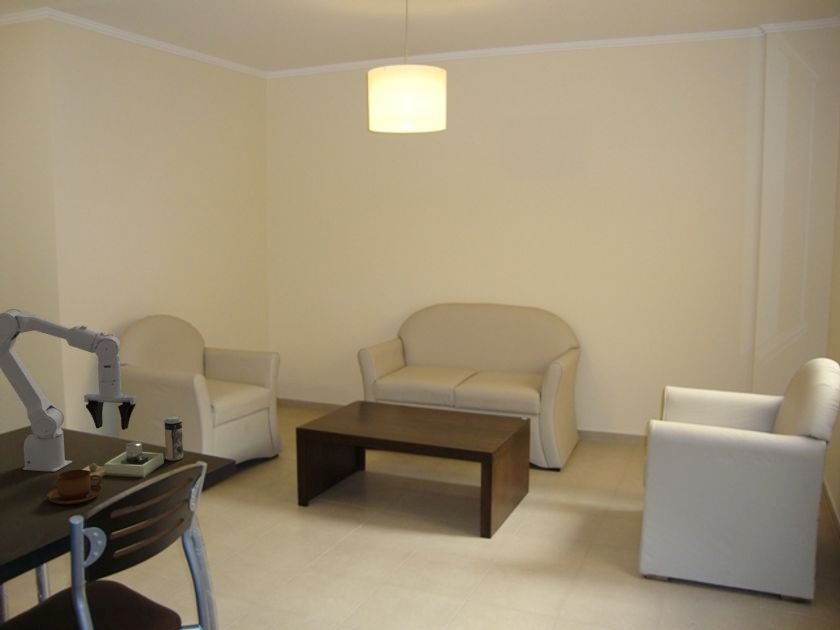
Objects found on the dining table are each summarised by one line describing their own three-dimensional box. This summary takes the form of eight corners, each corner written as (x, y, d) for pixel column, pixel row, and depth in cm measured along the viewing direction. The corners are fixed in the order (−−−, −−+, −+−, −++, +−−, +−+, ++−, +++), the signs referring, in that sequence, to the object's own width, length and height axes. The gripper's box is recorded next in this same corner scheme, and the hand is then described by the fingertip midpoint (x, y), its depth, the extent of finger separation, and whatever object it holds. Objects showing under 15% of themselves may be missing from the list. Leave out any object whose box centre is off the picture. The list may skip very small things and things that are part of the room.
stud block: (73, 477, 197) (73, 466, 197) (88, 468, 204) (88, 458, 204) (98, 478, 196) (97, 468, 196) (113, 469, 203) (112, 459, 203)
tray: (104, 474, 199) (104, 464, 199) (126, 461, 210) (126, 451, 210) (143, 477, 198) (143, 466, 197) (163, 463, 209) (163, 453, 208)
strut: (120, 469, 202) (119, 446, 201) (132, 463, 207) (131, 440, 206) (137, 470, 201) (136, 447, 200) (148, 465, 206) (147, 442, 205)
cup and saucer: (86, 486, 191) (85, 463, 191) (111, 498, 184) (109, 473, 183) (38, 500, 182) (37, 475, 181) (62, 512, 175) (60, 487, 174)
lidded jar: (177, 462, 210) (176, 420, 208) (162, 460, 211) (160, 419, 209) (186, 456, 215) (185, 415, 213) (171, 455, 216) (169, 414, 214)
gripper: (76, 381, 203) (79, 430, 205) (126, 384, 201) (129, 433, 203) (91, 376, 210) (93, 423, 212) (140, 378, 208) (142, 426, 210)
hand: (112, 428), depth 208 cm, fingers open, 7 cm apart
